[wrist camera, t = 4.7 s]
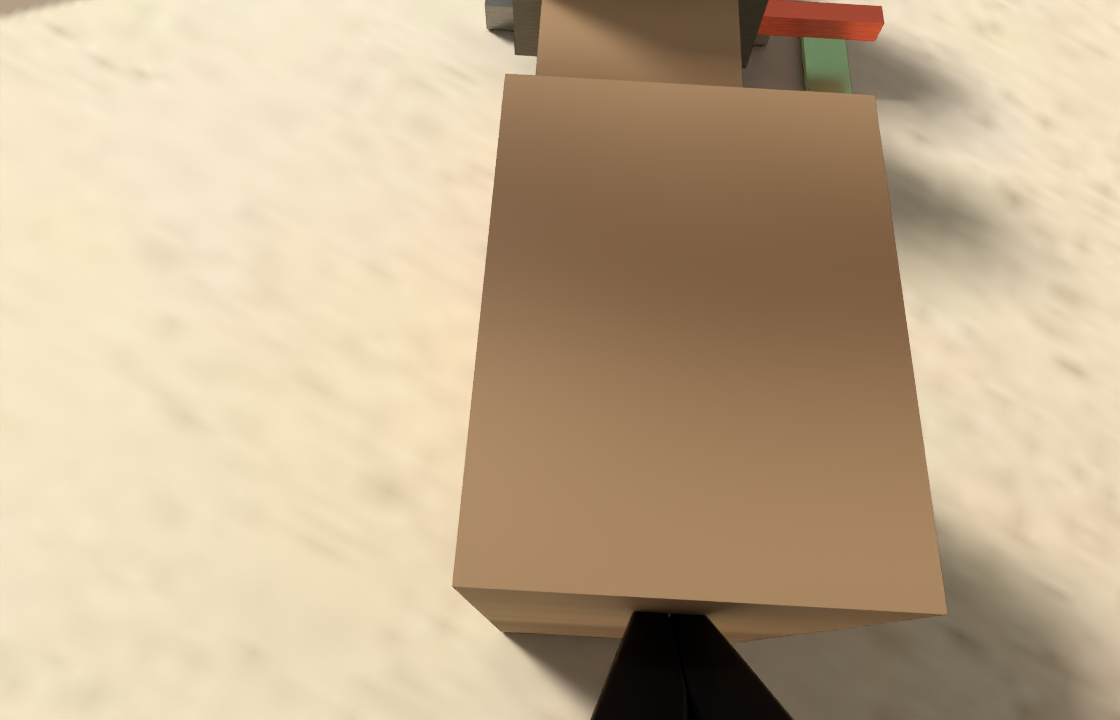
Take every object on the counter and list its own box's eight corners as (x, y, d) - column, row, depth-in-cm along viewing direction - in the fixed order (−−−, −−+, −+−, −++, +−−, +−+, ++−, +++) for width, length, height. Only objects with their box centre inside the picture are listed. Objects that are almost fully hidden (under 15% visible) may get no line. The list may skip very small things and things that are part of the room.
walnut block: (722, 643, 15) (947, 614, 7) (501, 631, 15) (451, 586, 7) (706, 99, 20) (820, -291, 12) (542, 90, 20) (544, -307, 12)
